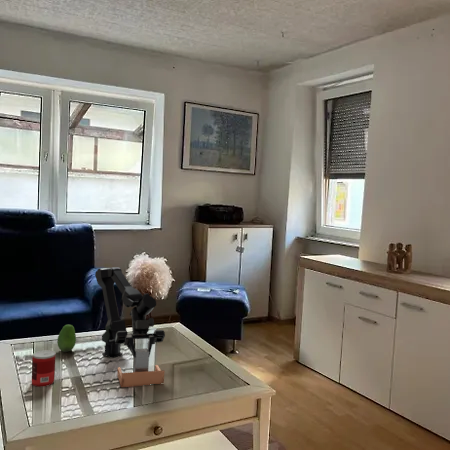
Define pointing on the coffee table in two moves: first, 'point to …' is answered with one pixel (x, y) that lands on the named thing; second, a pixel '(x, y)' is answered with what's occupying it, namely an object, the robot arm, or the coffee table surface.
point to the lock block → (141, 360)
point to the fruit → (67, 338)
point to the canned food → (43, 368)
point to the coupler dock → (140, 377)
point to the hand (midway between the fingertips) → (141, 357)
